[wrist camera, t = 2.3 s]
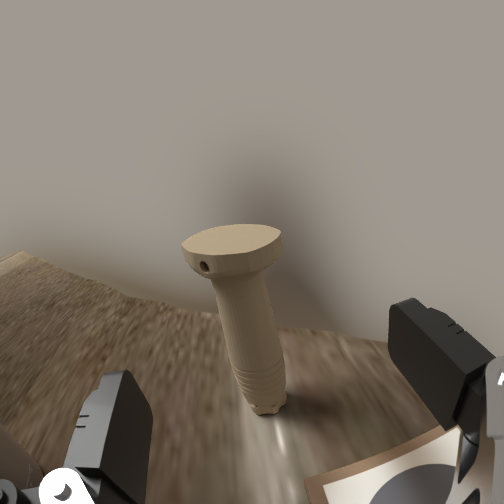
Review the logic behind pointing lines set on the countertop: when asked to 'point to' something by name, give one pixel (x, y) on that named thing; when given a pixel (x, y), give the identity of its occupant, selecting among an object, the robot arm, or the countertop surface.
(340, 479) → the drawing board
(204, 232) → the handle
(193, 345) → the countertop surface
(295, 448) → the countertop surface
